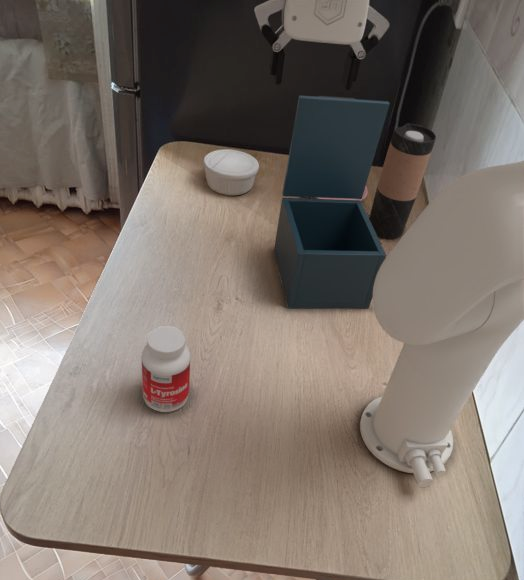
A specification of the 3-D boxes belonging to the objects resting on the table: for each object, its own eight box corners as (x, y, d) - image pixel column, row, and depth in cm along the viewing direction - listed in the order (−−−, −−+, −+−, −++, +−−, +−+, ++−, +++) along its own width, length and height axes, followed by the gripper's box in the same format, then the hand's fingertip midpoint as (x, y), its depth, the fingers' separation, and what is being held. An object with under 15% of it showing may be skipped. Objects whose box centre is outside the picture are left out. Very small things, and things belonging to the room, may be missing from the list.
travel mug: (403, 243, 111) (437, 146, 97) (364, 235, 111) (393, 137, 97) (404, 223, 116) (436, 128, 102) (367, 215, 117) (394, 119, 103)
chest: (368, 308, 96) (386, 255, 88) (287, 308, 93) (298, 253, 85) (346, 252, 107) (360, 200, 99) (273, 250, 104) (282, 197, 96)
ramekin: (200, 171, 122) (201, 147, 118) (251, 172, 124) (253, 149, 120) (205, 198, 114) (207, 174, 110) (260, 199, 116) (263, 175, 113)
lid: (389, 103, 86) (381, 89, 89) (300, 97, 83) (294, 82, 87) (361, 199, 98) (355, 183, 102) (282, 196, 96) (278, 180, 99)
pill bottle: (146, 417, 74) (144, 359, 67) (139, 382, 78) (136, 324, 71) (193, 409, 76) (196, 352, 68) (184, 376, 80) (185, 318, 72)
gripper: (267, -74, 61) (251, 89, 73) (418, -55, 64) (379, 99, 76) (259, -86, 66) (245, 68, 78) (400, -68, 69) (366, 78, 81)
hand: (311, 83), depth 77 cm, fingers open, 9 cm apart
